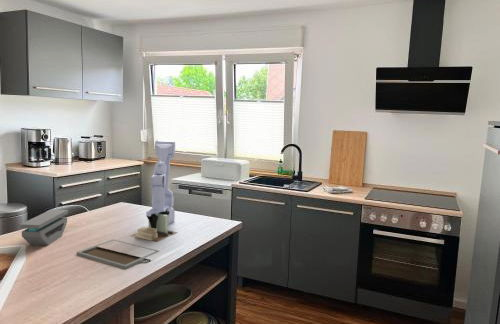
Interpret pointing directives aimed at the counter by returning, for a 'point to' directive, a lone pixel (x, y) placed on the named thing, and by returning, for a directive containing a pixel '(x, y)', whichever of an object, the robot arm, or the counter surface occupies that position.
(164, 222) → the sage green block
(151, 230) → the offcut upper
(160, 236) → the rack
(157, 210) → the robot arm
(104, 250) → the grey framed board
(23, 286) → the counter surface
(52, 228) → the grey slotted block
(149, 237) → the offcut lower
